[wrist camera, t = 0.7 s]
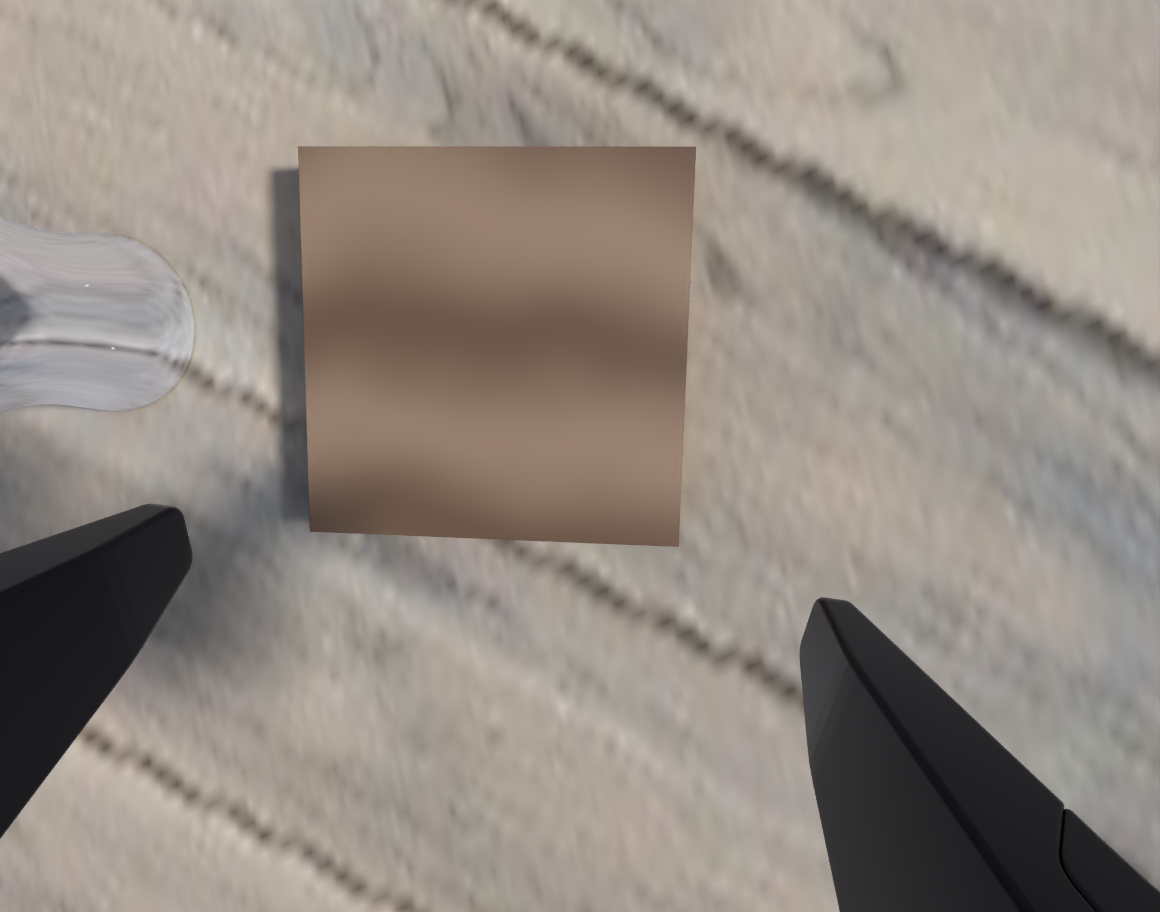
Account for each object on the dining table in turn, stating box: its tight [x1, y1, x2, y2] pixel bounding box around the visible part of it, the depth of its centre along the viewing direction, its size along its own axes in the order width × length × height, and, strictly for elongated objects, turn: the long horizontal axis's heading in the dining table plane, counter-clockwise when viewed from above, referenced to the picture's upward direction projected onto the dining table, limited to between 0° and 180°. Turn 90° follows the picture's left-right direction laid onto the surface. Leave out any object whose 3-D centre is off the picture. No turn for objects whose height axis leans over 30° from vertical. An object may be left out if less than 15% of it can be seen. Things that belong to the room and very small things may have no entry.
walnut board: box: [298, 147, 696, 547], centre depth 22 cm, size 12×12×2 cm
